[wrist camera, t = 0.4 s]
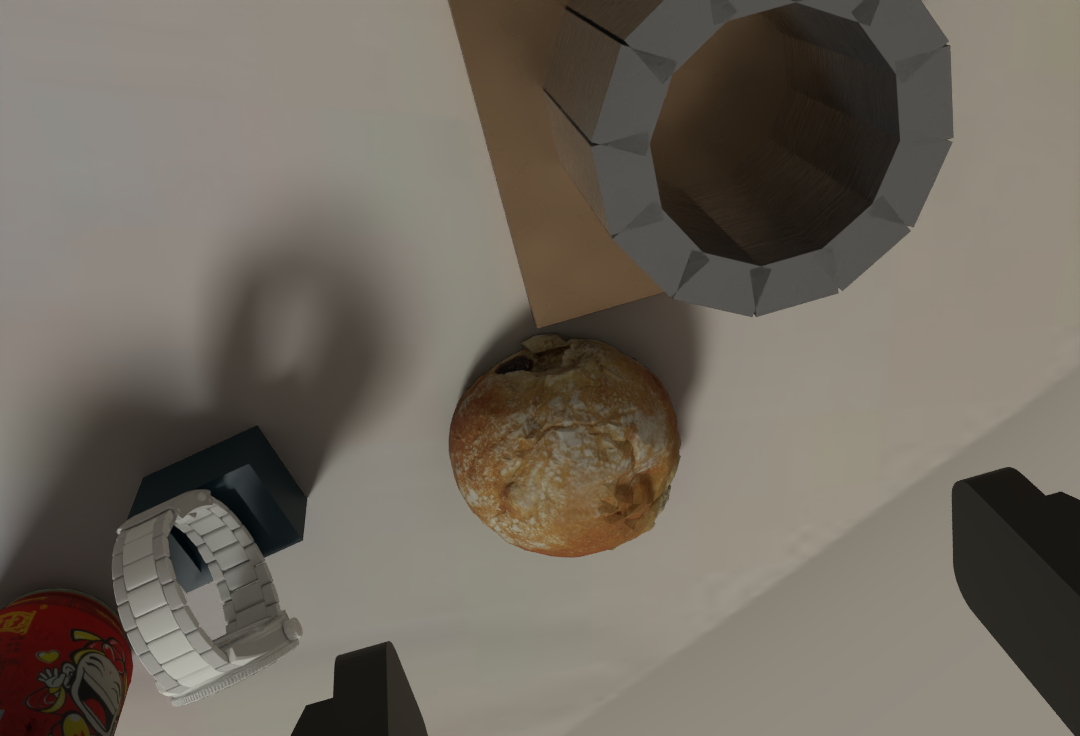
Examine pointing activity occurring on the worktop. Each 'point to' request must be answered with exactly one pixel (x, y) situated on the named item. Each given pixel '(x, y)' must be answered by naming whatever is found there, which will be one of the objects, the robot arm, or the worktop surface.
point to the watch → (209, 565)
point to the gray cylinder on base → (705, 143)
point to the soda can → (62, 665)
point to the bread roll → (565, 447)
